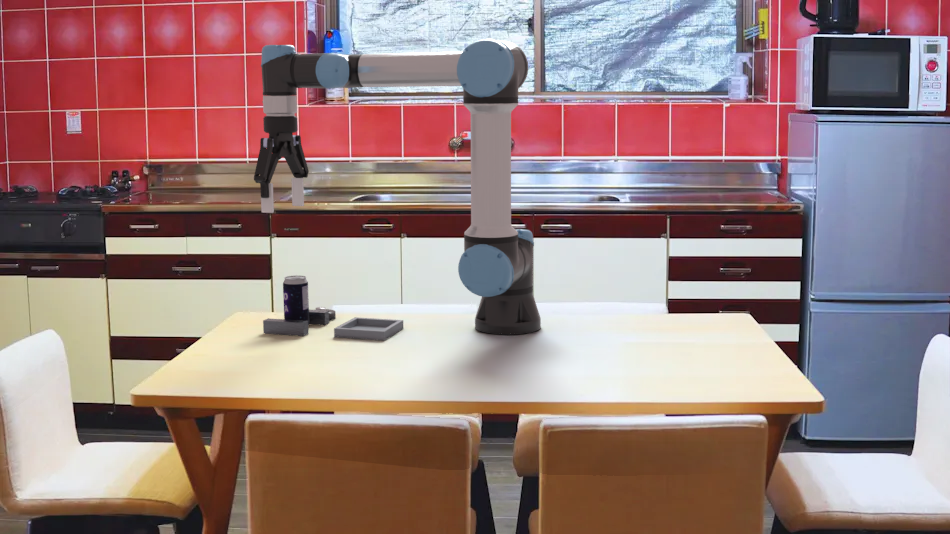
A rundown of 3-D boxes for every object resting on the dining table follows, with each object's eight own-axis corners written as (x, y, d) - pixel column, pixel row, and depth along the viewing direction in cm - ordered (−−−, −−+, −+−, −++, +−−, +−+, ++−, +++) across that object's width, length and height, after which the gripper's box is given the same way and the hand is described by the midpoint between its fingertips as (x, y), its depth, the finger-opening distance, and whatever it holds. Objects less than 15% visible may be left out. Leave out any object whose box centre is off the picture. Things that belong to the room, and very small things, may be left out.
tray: (403, 328, 254) (403, 320, 253) (384, 340, 242) (384, 331, 242) (355, 325, 257) (355, 317, 257) (334, 337, 246) (334, 328, 245)
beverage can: (298, 324, 259) (296, 274, 257) (314, 327, 255) (312, 276, 253) (279, 328, 254) (277, 277, 252) (296, 332, 251) (294, 280, 249)
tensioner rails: (342, 316, 267) (341, 304, 266) (303, 336, 247) (303, 323, 246) (304, 314, 270) (304, 302, 269) (263, 333, 250) (263, 320, 249)
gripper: (293, 113, 260) (296, 202, 263) (235, 116, 237) (239, 214, 240) (321, 113, 257) (324, 203, 261) (265, 117, 234) (269, 216, 238)
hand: (283, 209), depth 250 cm, fingers open, 13 cm apart
